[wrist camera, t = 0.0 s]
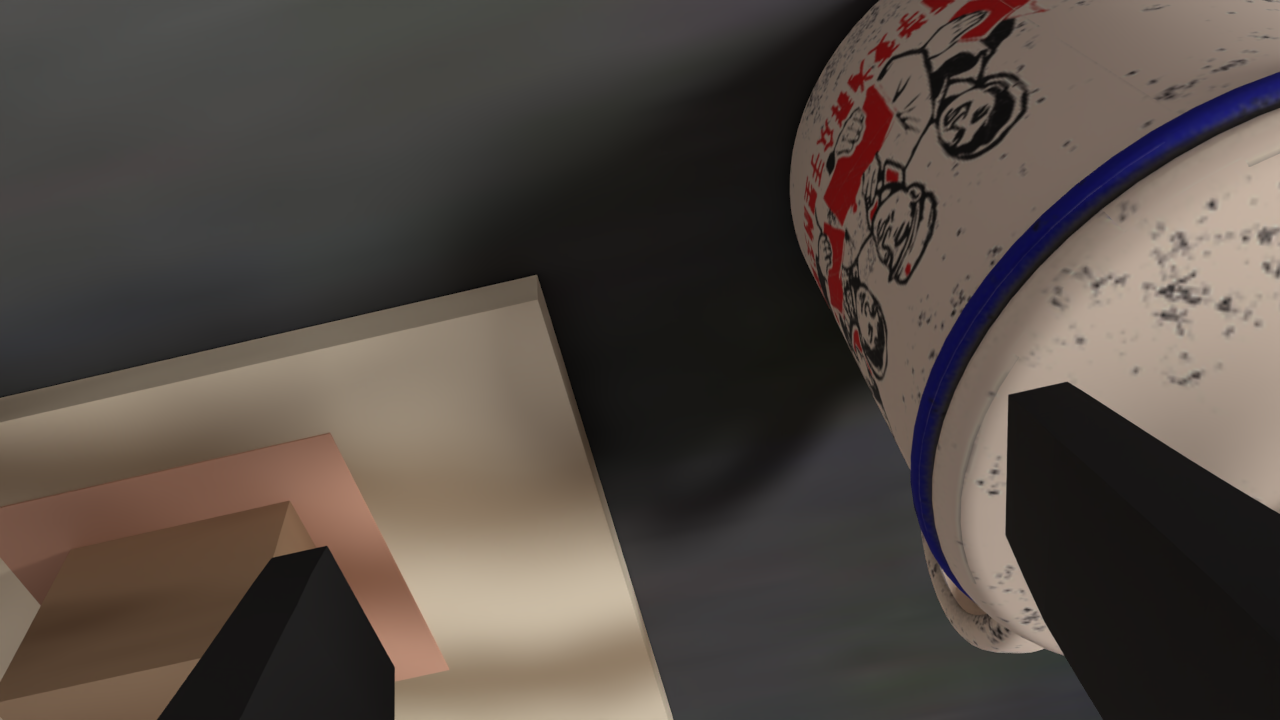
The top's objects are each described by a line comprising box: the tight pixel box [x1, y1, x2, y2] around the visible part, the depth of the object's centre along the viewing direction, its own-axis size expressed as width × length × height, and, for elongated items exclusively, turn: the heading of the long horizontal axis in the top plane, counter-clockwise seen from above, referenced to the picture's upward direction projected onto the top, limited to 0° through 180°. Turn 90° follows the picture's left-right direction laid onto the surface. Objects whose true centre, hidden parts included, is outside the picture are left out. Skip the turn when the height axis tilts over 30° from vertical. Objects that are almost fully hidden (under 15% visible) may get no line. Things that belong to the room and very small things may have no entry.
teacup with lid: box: [790, 0, 1280, 655], centre depth 15 cm, size 12×9×12 cm
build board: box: [0, 275, 673, 720], centre depth 25 cm, size 20×18×1 cm
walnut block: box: [0, 501, 316, 720], centre depth 21 cm, size 5×5×4 cm
